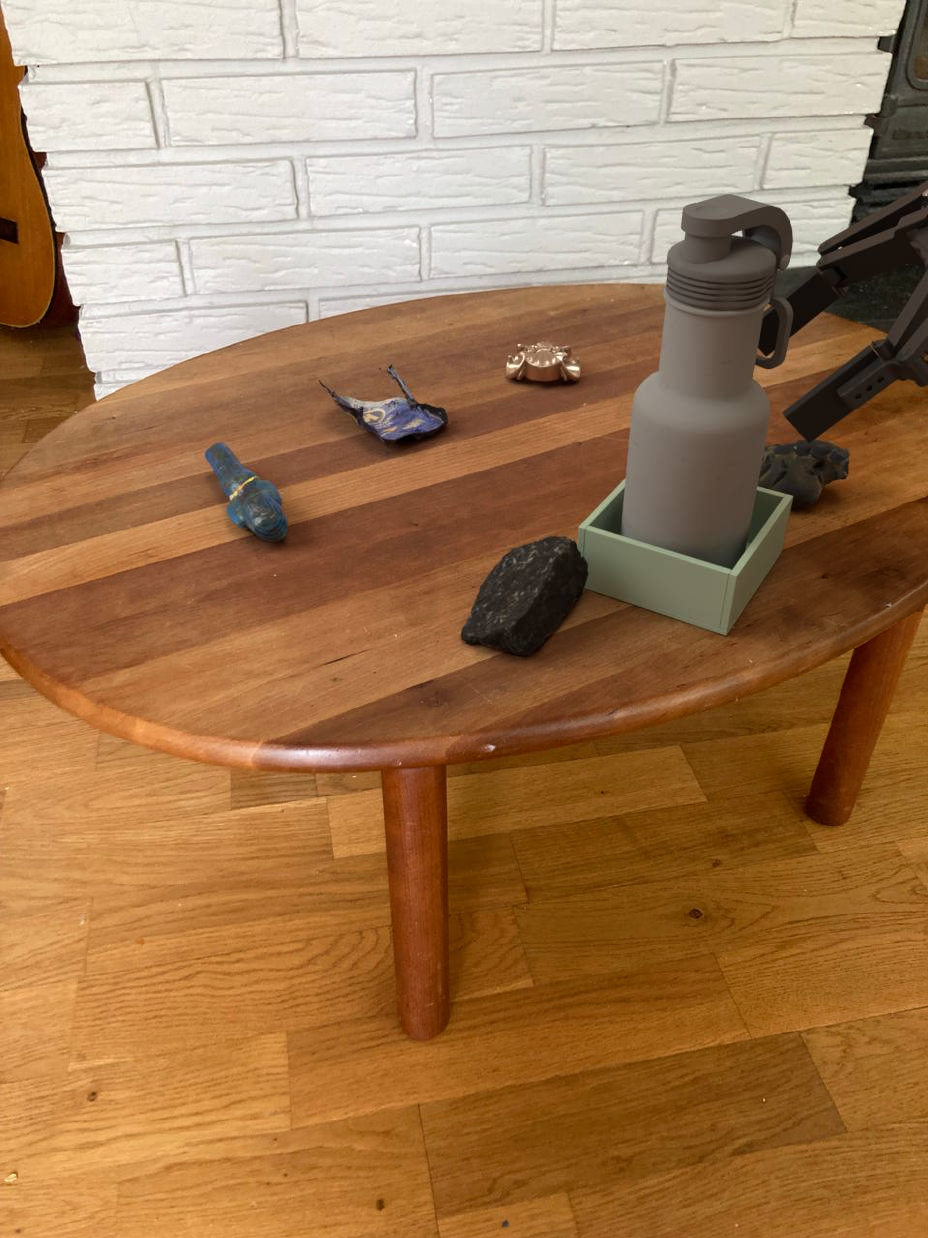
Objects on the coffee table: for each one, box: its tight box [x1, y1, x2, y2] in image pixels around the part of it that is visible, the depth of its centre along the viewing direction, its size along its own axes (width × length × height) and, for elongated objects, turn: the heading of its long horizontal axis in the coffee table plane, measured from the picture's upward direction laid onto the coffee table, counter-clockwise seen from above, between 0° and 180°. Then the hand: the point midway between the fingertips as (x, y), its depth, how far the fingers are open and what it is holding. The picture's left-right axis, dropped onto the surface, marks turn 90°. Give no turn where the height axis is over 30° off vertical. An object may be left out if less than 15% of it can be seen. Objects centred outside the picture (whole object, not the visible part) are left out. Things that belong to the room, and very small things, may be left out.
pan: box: [576, 477, 793, 637], centre depth 82 cm, size 13×13×6 cm
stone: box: [757, 439, 851, 509], centre depth 91 cm, size 7×13×5 cm, turn 85°
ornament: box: [505, 340, 581, 382], centre depth 111 cm, size 8×7×4 cm
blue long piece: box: [204, 441, 289, 543], centre depth 91 cm, size 5×4×15 cm
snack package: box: [318, 363, 449, 454], centre depth 102 cm, size 12×6×12 cm
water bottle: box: [621, 193, 794, 570], centre depth 75 cm, size 10×10×28 cm
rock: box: [460, 535, 589, 657], centre depth 78 cm, size 7×10×6 cm
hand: (772, 382), depth 73 cm, fingers open, 13 cm apart
